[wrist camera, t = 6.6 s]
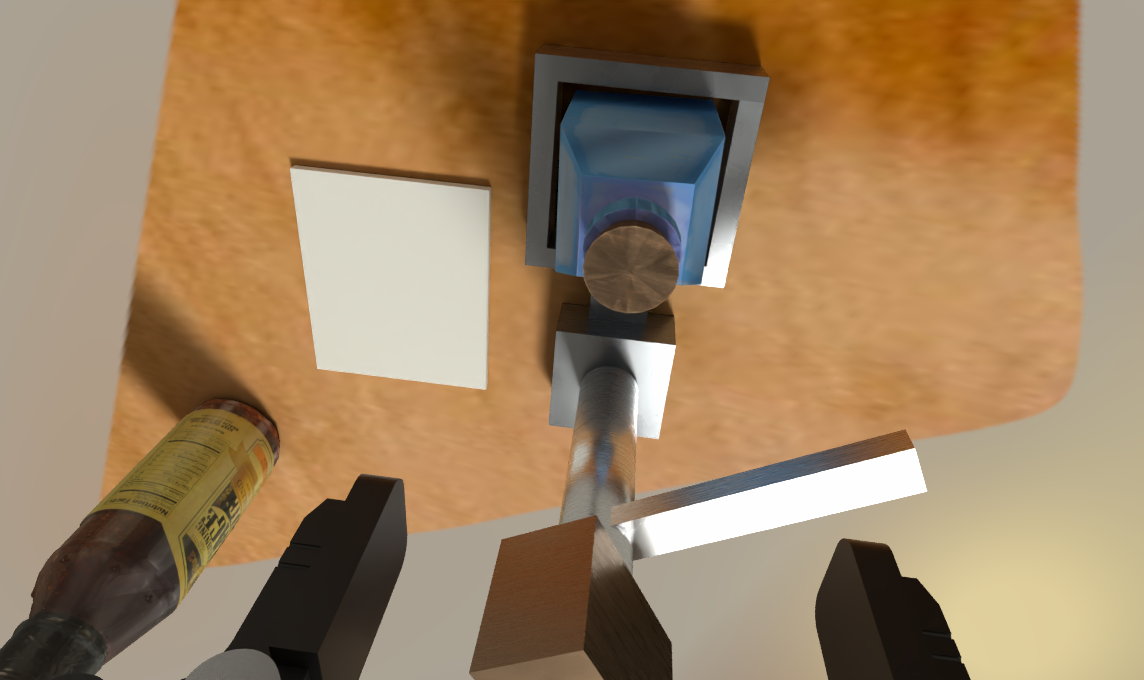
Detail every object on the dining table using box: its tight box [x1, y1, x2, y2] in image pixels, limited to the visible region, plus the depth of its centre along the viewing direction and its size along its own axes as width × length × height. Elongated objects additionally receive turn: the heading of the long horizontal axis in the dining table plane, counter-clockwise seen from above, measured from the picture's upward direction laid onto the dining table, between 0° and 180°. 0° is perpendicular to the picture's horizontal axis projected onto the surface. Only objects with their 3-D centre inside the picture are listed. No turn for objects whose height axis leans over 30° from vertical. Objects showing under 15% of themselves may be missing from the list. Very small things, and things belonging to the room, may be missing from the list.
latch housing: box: [525, 44, 770, 439], centre depth 34 cm, size 19×10×3 cm, turn 175°
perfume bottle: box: [555, 90, 725, 313], centre depth 28 cm, size 6×6×12 cm
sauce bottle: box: [0, 399, 280, 680], centre depth 36 cm, size 7×6×20 cm
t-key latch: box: [469, 366, 927, 680], centre depth 27 cm, size 14×7×18 cm, turn 115°
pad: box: [290, 165, 491, 390], centre depth 37 cm, size 12×10×1 cm
